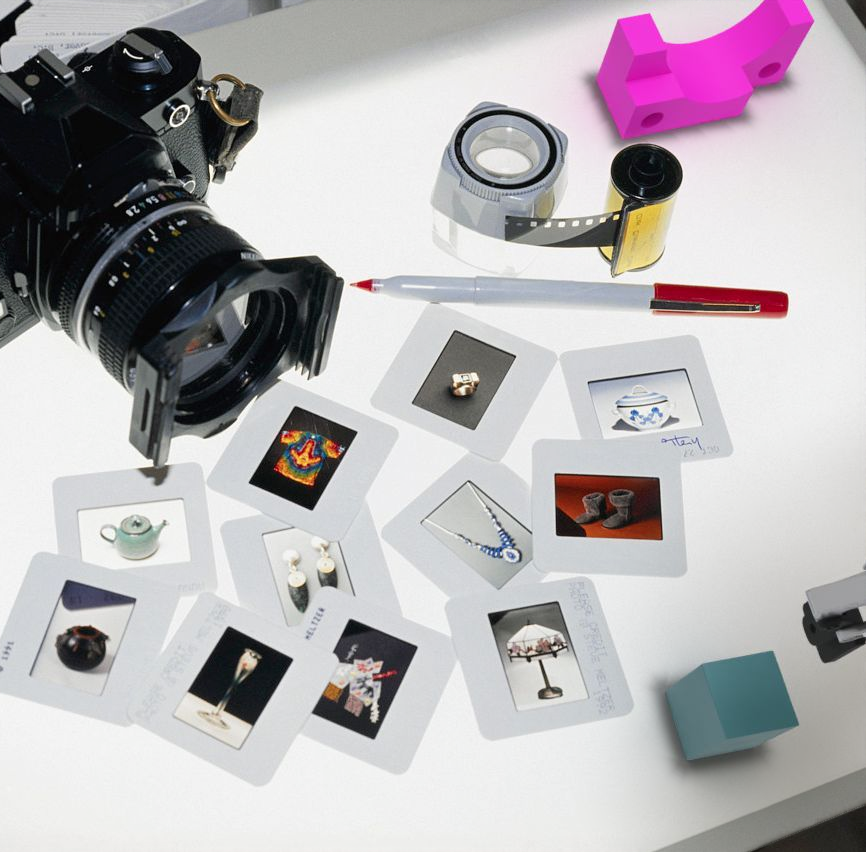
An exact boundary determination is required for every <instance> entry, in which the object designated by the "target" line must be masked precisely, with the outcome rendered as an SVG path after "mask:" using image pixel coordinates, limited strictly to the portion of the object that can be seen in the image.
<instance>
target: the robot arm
mask: <svg viewBox="0 0 866 852" xmlns="http://www.w3.org/2000/svg"><path fill="white" fill-rule="evenodd" d="M862 569H863V570H864V571H862V572H859V573H855V574H853V575H850V576H848V577H845V578H843V579H840V580H837V581H833V582H830V583H827V584H822V585H819V586H815V587H812V588H809V589H807V590H805V591H804V594H805V597H806V600H807V601H806V602H804V603H803V604H802V612H803V616H802V619H801V621H802V629H803V631H804V634H805V637H806V640H807V642H808V644H810V645H811V646H813V647H815V648H816V651H817V654H818V657H819V659H820V660H821V662H822V663H823V664H828V663H834V662H838V661H839V660H840V659H842V658H844V657H845V656H848V655H849V654H851V653H852V652H854V651H856V650H858V649H859V648H861V647H863V646H865V645H866V620H864V619H863V616H862V614H861V611H860V608H862V607H865V606H866V560H865V561H864V563H863V566H862Z"/></svg>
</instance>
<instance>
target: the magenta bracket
mask: <svg viewBox="0 0 866 852" xmlns="http://www.w3.org/2000/svg"><path fill="white" fill-rule="evenodd" d="M814 23H815V19H814V17H813V15H812V14H811V11H810V10H809V8H808V6H807V4H806V2H805V1H804V0H762V2H761V3H760V4H759V5H758V6H757V7H755V9H754V10H752V11H751V12H750V13H749V14H748V15H747V16H745V17H743V19H741V20H740V21H738V22H737V23H735V24H734V25H732V26H730V27H729V28H727V29H725V30H724V31H720V32H719V33H717V34H715V35H712V36H709V37H706V38H704V39H701V40H697V41H692V42H686V43H673V42H668V41H665V40H664V38H663V37H662V35H661V32H660V31H659V29H658V28H659V27H657V24H656V22H655V20H654V18H653V16H652V13H650V12H648V13H643V14H642V13H641V14H637V15H632V16H627V17H622V18H617V20H616V23H615V26H614V29H613V31H612V34H611V37H610V40H609V43H608V46H607V48H606V51H605V54H604V57H603V59H602V61H601V64H600V68H599V70H598V73H597V76H596V78H595V82H596V83H597V85H598V88H599V90H600V93H601V94H602V97H603V99H604V102H605V104H606V107H607V108H608V110H609V112H610V114H611V117H612V120H613V122H614V124H615V125H616V129H617V130H618V132H619V135H620V137H621V140H626V139H627V140H628V139H632V138H636V137H641V136H646V135H652V134H655V133H661V132H664V131H665V132H666V131H671V130H675V129H681V128H686V127H691V126H695V125H700V124H707V123H711V122H715V121H720V120H721V121H722V120H726V119H730V118H735V117H740V116H741V115H742V113H743V111H744V109H745V108H746V107H747V104H748V103H749V100H750V98H751V96H752V95H753V93H754V91H755V90H754V88H755V87H760V86H761V87H762V86H766V85H770V84H777V83H781V81H782V80H783V78H784V76H785V75H786V72H787V71H788V69H789V67H790V65H791V64H792V62H793V60H794V58H795V56H796V55H797V53H798V51H799V50H800V48H801V46H802V44H803V42H804V41H805V39H806V37H807V35H808V33H809V31H810V30H811V28H812V27H813V25H814Z"/></svg>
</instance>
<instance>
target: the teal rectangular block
mask: <svg viewBox="0 0 866 852" xmlns="http://www.w3.org/2000/svg"><path fill="white" fill-rule="evenodd" d="M779 665H780V664H779V662H778V660H777V657H776V654H775V651H774V650H768V651H762V652H757V653H752V654H746V655H741V656H735V657H730V658H724V659H719V660H715V661H714V660H713V661H709V662H708V661H707V662H703V663H701V664H700V665H698V666H697V667H696V668H694V669H693V670H692V671H690V672H689V673H687V674H686V675H684V676H683V677H682V678H681V679H679V680H677V682H675V683H674V684H673V685H671V686H669V688H667V689H666V690H665V691H664V693H665V695H666V699H667V703H668V705H669V709H670V712H671V715H672V718H673V722H674V726H675V728H676V731H677V734H678V738H679V742H680V744H681V748H682V750H683V755H684V757H685V760H686V761H692V760H698V759H704V758H708V757H713V756H718V755H723V754H724V755H725V754H728V753H729V754H730V753H734V752H739V751H744V750H749V749H754V748H756V747H758V746H760V745H763V744H764V743H766V742H768V741H770V740H772V739H774V738H776V737H779V736H780V735H782V734H783V735H784V733H786V732H790V731H791V730H793V729H795V728H797V727H799V726H800V722H799V719H798V717H797V714H796V711H795V709H794V705H793V703H792V700H791V697H790V694H789V691H788V689H787V686H786V683H785V680H784V677H783V674H782V671H781V668H780V666H779Z"/></svg>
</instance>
